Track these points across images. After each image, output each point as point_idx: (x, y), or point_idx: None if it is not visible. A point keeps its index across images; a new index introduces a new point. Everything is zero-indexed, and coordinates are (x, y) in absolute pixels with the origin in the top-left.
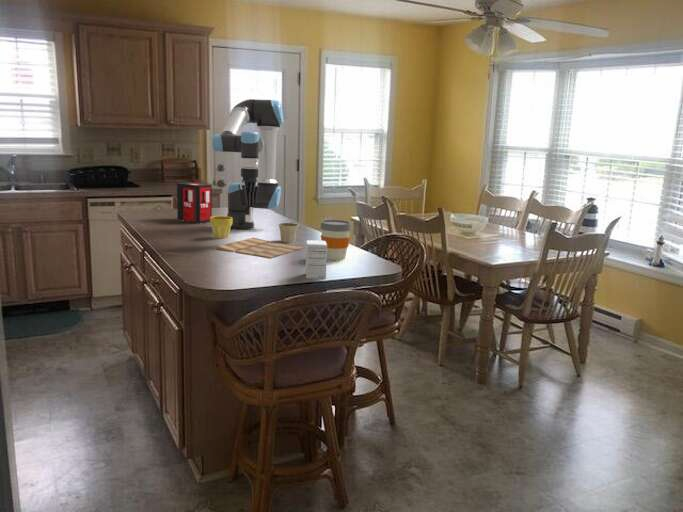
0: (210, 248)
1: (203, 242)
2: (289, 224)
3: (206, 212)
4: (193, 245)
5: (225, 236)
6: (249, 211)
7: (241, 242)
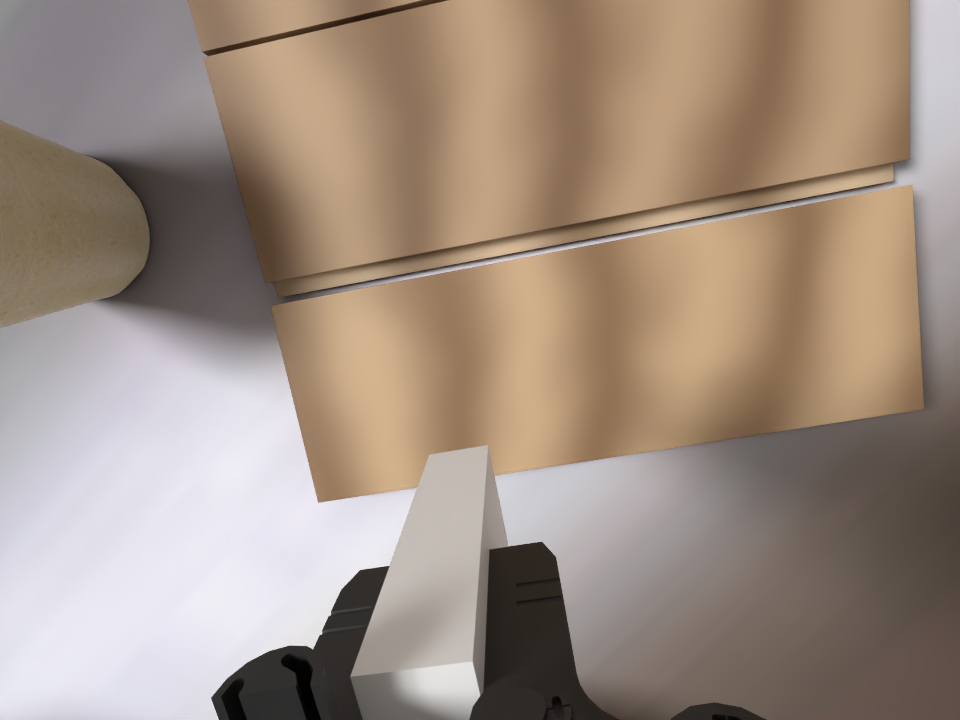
0: (840, 504)
1: None
2: None
3: None
4: (843, 673)
5: None
6: (485, 604)
7: (574, 408)
